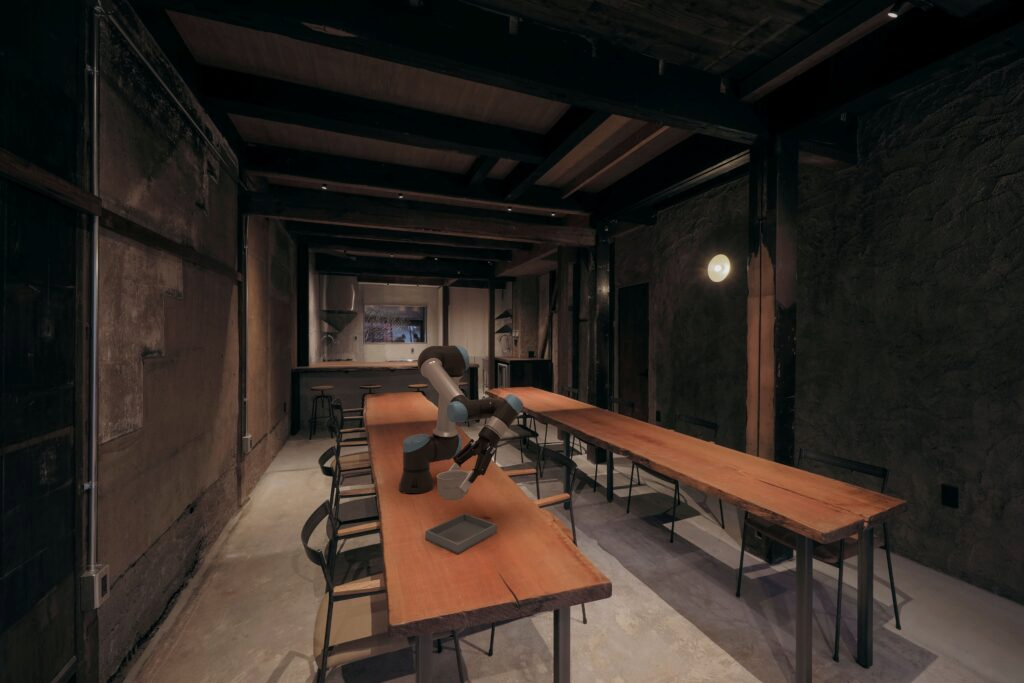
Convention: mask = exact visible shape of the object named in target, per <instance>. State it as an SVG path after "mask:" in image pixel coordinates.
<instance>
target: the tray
mask: <svg viewBox="0 0 1024 683" xmlns="http://www.w3.org/2000/svg"><path fill="white" fill-rule="evenodd" d="M495 533H496V534H497V523H496V524H495V523H494V522H491V521H489V520H485V519H482V518H480V517H477V516H474V515H471V514H469V513H465V512H464V513H461V514H459V515H457V516H455V517H453V518H451V519H449V520H446V521H443V522H442V523H439V524H437V525H435V526H433V527H431V528H428V529H426V530H425V532H424V534H425V535H424V536H425V538H424V539H425V541H427V542H429V543H431V544H434V545H436V546H438V547H440V548H442V549H444V550H447V551H449V552H451V553H453V554H456V555H460V554H461V553H463V552H465V551H467V550H469V549H470V547H471V546H472V547H474V546H476V545H478V544H479V542H480V541H481V542H483V541H485V540H486V538H487V539H489V538H490V536H491V537H492V536H494V535H496V534H495ZM493 534H494V535H493ZM488 537H489V538H488ZM484 539H485V540H484ZM482 540H483V541H482ZM481 542H480V543H481ZM477 543H478V544H477ZM475 544H476V545H475ZM473 545H474V546H473ZM472 547H471V548H472ZM468 548H469V549H468ZM466 549H467V550H466Z"/></svg>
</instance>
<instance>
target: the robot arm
mask: <svg viewBox="0 0 1024 683" xmlns="http://www.w3.org/2000/svg"><path fill="white" fill-rule="evenodd" d="M417 358H418V359H417V363H416V364H417V368H418V370H419V372H420V374H421V375H422V377H424V378H426V379H427V380H428V381H429V382H430V384H431V385H432V386H433V388H434V389H435V390H436V391H437V393H438V405H437V406H438V407H437V414H436V415H437V416H436V417H437V418H436V427H435V428H434V429H433V430H432V436H431V435H429V434H427V433H417V434H412V435H410V436H408V437H406V438H405V439H404V440H403V443H402V475H401V478H400V481H399V484H398V489H399V490H400V491H402V492H405V493H404V494H406V493H420V494H423V493H422V492H425V493H427V492H426V491H428V492H430V491H432V490H433V489H434V488H435V486H434V480H433V476H432V473H431V471H430V469H431V468H430V464H431V463H436V462H441V461H450V460H453V461H454V462H453V464H452V465H451V466H450V468H449V469H448V471H452V470H461V469H460V468H462V465H463V464H464V463H466V462H468V460H470V459H471V458H472V457H476V456H477V457H476V460H475V464H474V468H472V470H470V471H471V472H470V473H469V475H468V476H467V477H466V479H465V480H464V481H463V483H462V484H461V486H460V487H459V488H461V489H462V490H463V491H464V492H465V493H466V491H467V490H468V489H469V490H470V487H471V486H472V484H474V482H475V481H476V480H477V478H478V477H479V476H485V474H486V472H487V471H488V468H489V466H490V463H491V461H492V459H493V457H494V455H495V454H496V452H497V450H496V448H495V447H497V445H498V444H499V442H500V441H501V439H502V438H503V437H504V436H505V434H506V432H508V430H509V428H510V427H511V425H512V424H513V423H514V421H515V420H516V419H517V418H518V416H519V415H520V413H521V411H522V410H523V408H524V402H523V400H521V399H520V397H518V396H516V395H515V394H512V393H509V394H508V395H506V396H505V397H504V399H500V398H496V397H491V396H486V397H483V398H481V399H469V398H468V397H467V396H466V395H465V394H464V393H463V391H462V390H461V389H460V379H462V378H463V377H464V372H466V371H467V370H469V368H470V356H469V353H468V351H467V349H466V348H465V347H464V346H462V345H453V344H452V345H431V346H428V347H425V348H424V349H423V350H422V351H421V352H420V354H419V355H418V357H417ZM486 419H487V422H486V423H485V424H484V426H483V427H482V428H481V430H480V431H479V432H478V433H477V434H478V439H477V440H475V439H473V438H470V441H469V442H468V443H467V444H466V445H465V446H464V447H463V442H462V437H461V435H460V433H459V431H458V430H457V429H456V423H465V422H471V421H477V420H478V421H479V420H486ZM473 471H474V472H473ZM432 488H433V489H432ZM431 489H432V490H431ZM399 490H398V491H399ZM429 490H430V491H429ZM469 490H468V491H469ZM400 491H399V492H400ZM402 492H401V493H402Z"/></svg>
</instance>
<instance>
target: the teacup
mask: <svg viewBox="0 0 1024 683" xmlns="http://www.w3.org/2000/svg"><path fill="white" fill-rule="evenodd" d="M472 471H473V470H472ZM470 472H471V470H469V471H466V470H461V469H459V470H452V471H449V470H447V471H442V472H440V473H438V474H436V481H437V482H436V483H437V484H436V485H437V493H438V495H439V496H440V497H441V498H442V499H443V500H445V501H450V502H451V501H452V502H453V501H458V500H461V499H463V498H465V496H467V494H468V492H469V490H470V488H469V489H468V490H467V491H466V493H465V492H464V491H463V490H462V489H461V488H459V487H460V486H461V484H462V483H463V481H464V480H465V479H466V477H467V476H468V475H469V473H470ZM473 472H474V471H473Z"/></svg>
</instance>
